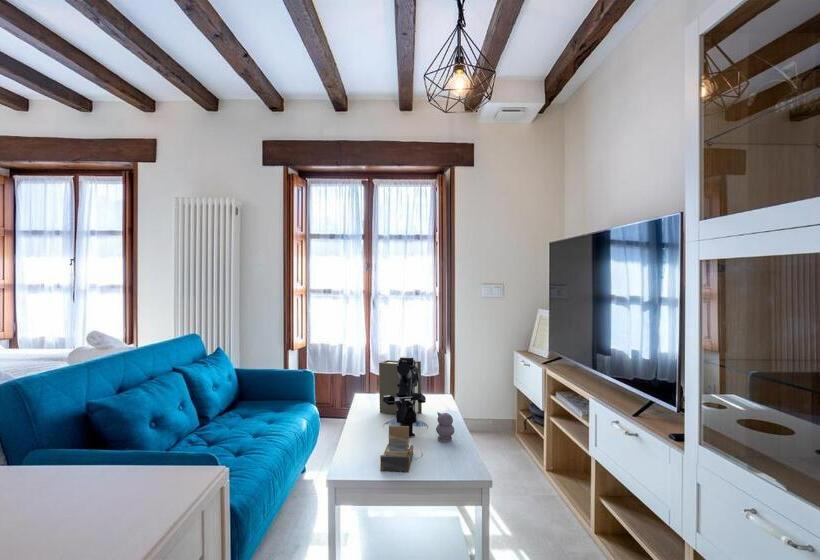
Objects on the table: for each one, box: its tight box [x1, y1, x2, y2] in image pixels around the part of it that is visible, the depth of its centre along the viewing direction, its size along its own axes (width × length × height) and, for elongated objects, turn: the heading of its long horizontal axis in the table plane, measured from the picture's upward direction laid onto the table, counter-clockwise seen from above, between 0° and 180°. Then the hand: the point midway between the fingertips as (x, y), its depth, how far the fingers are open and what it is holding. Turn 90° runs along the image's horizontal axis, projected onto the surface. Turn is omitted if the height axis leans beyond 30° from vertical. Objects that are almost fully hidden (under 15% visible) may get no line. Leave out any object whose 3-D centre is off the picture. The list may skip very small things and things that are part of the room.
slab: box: [387, 425, 410, 457], centre depth 163 cm, size 6×8×10 cm
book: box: [378, 359, 423, 415], centre depth 223 cm, size 22×9×28 cm, turn 64°
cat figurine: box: [435, 411, 455, 444], centre depth 184 cm, size 8×8×12 cm
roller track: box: [379, 443, 414, 474], centre depth 162 cm, size 17×11×6 cm, turn 174°
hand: (402, 419), depth 176 cm, fingers closed
